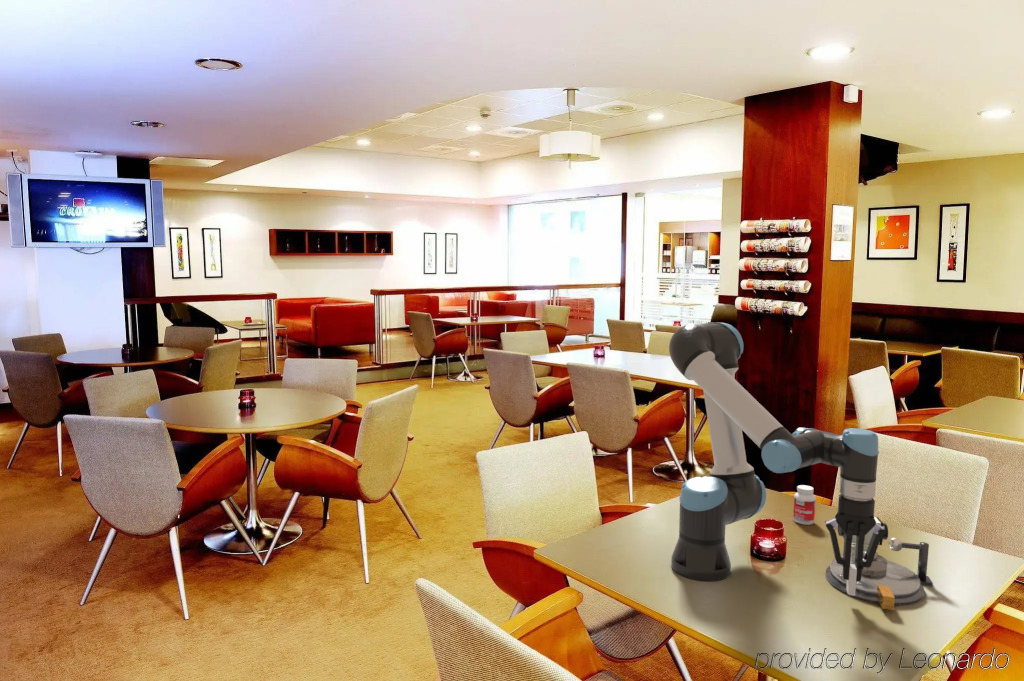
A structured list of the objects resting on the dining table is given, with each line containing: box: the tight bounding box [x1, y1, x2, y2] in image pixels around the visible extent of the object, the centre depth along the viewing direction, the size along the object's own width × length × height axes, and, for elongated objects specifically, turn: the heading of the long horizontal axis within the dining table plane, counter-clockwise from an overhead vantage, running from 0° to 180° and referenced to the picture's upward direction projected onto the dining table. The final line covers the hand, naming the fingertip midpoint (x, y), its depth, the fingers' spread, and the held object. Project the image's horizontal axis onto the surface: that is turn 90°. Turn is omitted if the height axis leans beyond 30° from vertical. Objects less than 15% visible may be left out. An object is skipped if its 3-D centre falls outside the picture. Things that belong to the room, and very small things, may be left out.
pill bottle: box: [792, 484, 817, 526], centre depth 215 cm, size 6×6×11 cm
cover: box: [851, 550, 888, 579], centre depth 174 cm, size 8×8×5 cm
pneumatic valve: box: [837, 516, 889, 556], centre depth 189 cm, size 6×12×12 cm, turn 78°
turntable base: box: [825, 565, 925, 606], centre depth 174 cm, size 22×22×1 cm
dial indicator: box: [887, 537, 934, 587], centre depth 176 cm, size 10×4×11 cm, turn 73°
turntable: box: [829, 555, 920, 611], centre depth 171 cm, size 20×26×3 cm
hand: (850, 592), depth 163 cm, fingers closed
